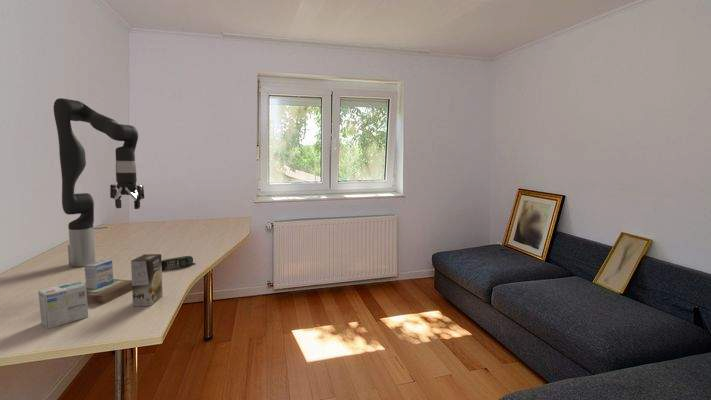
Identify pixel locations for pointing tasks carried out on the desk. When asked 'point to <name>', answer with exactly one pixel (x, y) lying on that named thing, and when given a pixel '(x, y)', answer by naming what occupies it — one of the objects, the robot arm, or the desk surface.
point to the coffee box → (146, 279)
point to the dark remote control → (177, 262)
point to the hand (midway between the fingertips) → (127, 208)
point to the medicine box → (99, 274)
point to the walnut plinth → (108, 291)
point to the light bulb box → (63, 304)
